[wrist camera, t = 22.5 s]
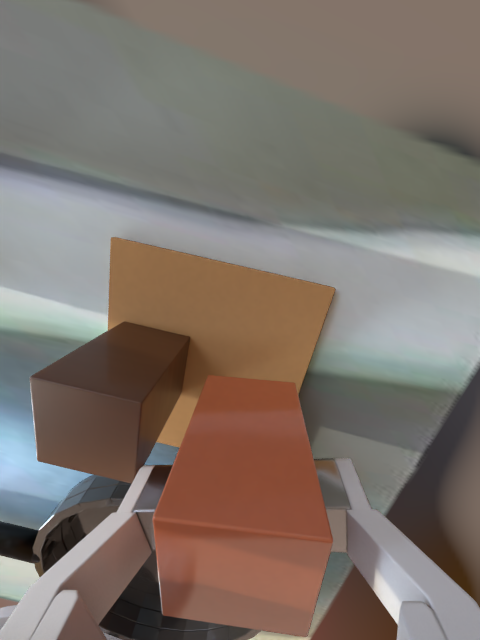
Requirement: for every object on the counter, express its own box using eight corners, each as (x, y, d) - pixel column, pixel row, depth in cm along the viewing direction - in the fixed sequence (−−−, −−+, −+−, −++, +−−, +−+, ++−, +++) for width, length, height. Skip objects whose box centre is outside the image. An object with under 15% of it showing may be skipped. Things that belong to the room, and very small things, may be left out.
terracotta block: (285, 450, 12) (308, 638, 6) (207, 441, 12) (161, 616, 7) (295, 381, 11) (334, 541, 5) (207, 374, 11) (151, 518, 5)
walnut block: (181, 393, 15) (134, 485, 9) (120, 378, 15) (36, 461, 9) (190, 336, 14) (141, 403, 8) (124, 320, 14) (28, 376, 8)
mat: (271, 463, 17) (271, 469, 16) (108, 424, 17) (104, 429, 17) (333, 287, 13) (336, 288, 12) (116, 237, 13) (110, 237, 12)
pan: (246, 628, 24) (245, 671, 22) (62, 583, 24) (41, 620, 22) (303, 500, 18) (310, 539, 15) (53, 440, 18) (22, 470, 16)
